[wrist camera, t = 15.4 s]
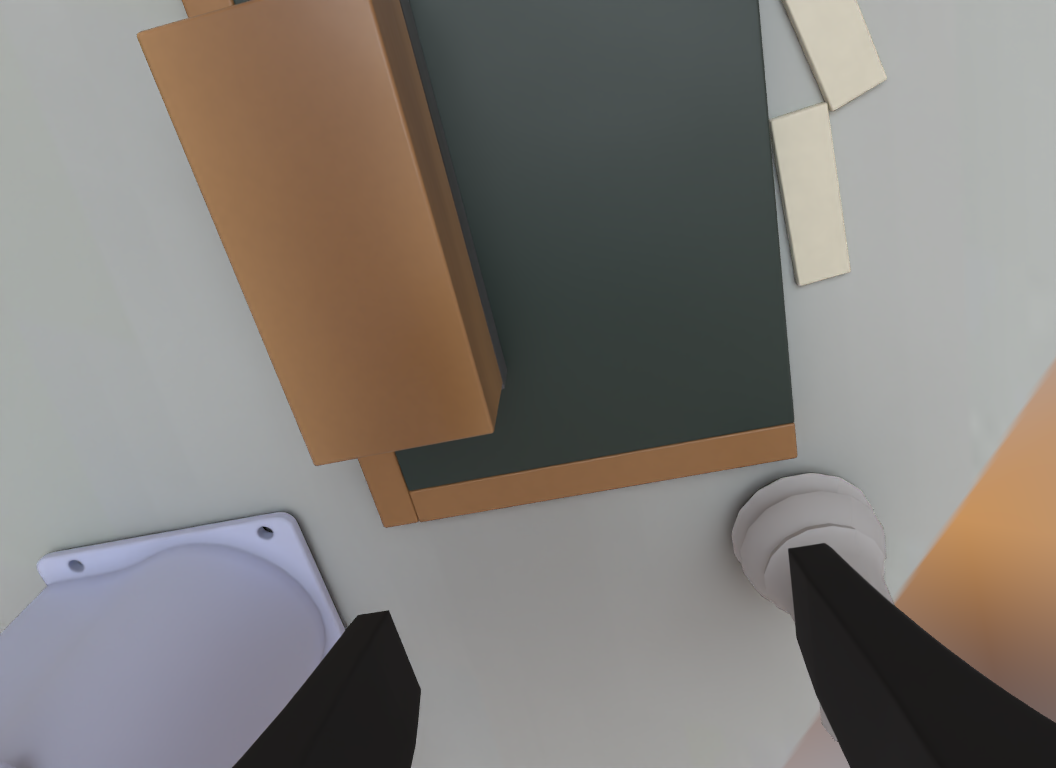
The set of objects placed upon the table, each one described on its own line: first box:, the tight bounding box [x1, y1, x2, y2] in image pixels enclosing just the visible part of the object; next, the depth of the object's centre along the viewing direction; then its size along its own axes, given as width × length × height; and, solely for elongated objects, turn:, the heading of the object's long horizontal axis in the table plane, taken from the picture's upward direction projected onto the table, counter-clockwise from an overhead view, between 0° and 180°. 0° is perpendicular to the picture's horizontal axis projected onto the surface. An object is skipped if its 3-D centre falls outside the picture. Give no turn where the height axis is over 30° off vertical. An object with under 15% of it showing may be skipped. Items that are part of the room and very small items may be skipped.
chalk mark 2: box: [769, 102, 851, 286], centre depth 18 cm, size 4×1×1 cm, turn 18°
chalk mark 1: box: [782, 0, 887, 111], centre depth 16 cm, size 4×1×1 cm, turn 33°
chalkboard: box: [182, 0, 797, 528], centre depth 18 cm, size 13×19×1 cm
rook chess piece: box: [731, 473, 894, 742], centre depth 19 cm, size 4×4×8 cm
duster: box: [137, 0, 507, 466], centre depth 16 cm, size 4×10×4 cm, turn 13°
